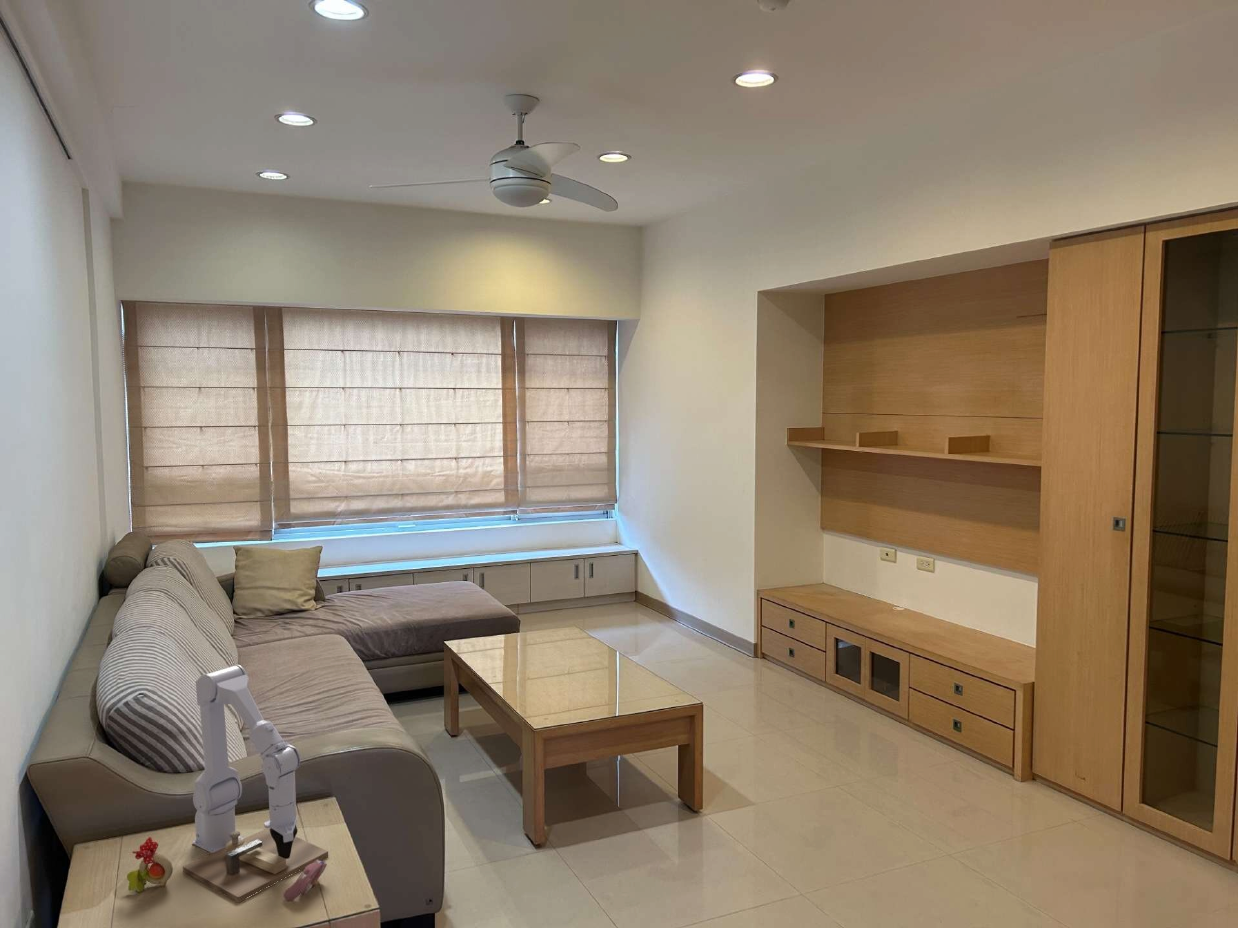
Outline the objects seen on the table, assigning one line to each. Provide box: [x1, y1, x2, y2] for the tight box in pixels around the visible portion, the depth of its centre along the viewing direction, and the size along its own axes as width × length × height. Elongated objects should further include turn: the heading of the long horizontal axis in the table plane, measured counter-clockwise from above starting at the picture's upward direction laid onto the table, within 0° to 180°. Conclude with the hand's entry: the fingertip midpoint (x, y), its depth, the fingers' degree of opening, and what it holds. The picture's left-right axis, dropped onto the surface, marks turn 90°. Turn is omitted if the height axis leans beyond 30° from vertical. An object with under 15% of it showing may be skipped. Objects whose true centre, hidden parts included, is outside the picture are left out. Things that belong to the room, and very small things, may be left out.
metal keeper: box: [226, 839, 262, 876], centre depth 201 cm, size 2×8×5 cm, turn 145°
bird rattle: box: [126, 836, 174, 893], centre depth 195 cm, size 6×11×9 cm
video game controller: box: [283, 859, 328, 901], centre depth 194 cm, size 10×5×7 cm, turn 169°
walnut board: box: [182, 828, 329, 903], centre depth 205 cm, size 22×23×1 cm
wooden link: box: [226, 830, 286, 874], centre depth 203 cm, size 18×4×5 cm, turn 59°
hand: (284, 858), depth 202 cm, fingers closed
